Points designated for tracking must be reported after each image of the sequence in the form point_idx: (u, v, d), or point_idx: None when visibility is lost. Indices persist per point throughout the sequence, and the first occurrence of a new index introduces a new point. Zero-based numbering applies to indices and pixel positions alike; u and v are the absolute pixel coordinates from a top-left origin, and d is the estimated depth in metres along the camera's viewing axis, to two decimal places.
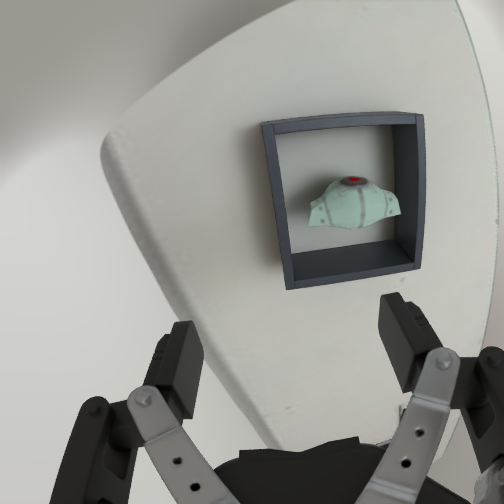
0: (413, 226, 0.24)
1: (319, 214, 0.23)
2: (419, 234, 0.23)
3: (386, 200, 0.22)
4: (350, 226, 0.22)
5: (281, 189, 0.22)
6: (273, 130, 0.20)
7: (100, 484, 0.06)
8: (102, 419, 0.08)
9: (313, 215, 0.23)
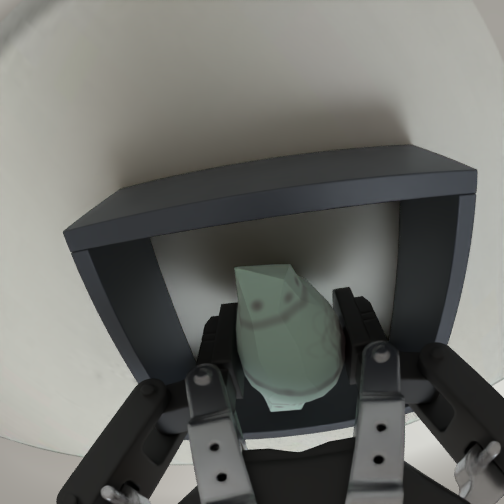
0: (245, 422, 0.14)
1: (273, 298, 0.09)
2: None
3: None
4: (251, 363, 0.10)
5: (340, 205, 0.08)
6: (466, 193, 0.08)
7: (132, 467, 0.07)
8: (160, 401, 0.08)
9: (268, 284, 0.09)
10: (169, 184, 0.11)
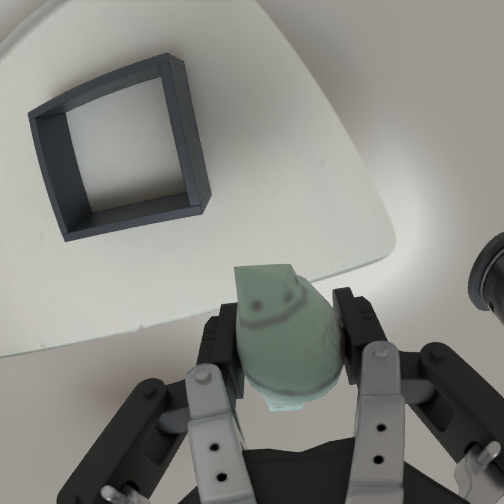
0: (98, 223, 0.24)
1: (273, 298, 0.09)
2: (91, 231, 0.24)
3: None
4: (250, 363, 0.10)
5: (109, 81, 0.18)
6: (163, 63, 0.18)
7: (132, 467, 0.07)
8: (160, 401, 0.08)
9: (268, 284, 0.09)
10: None
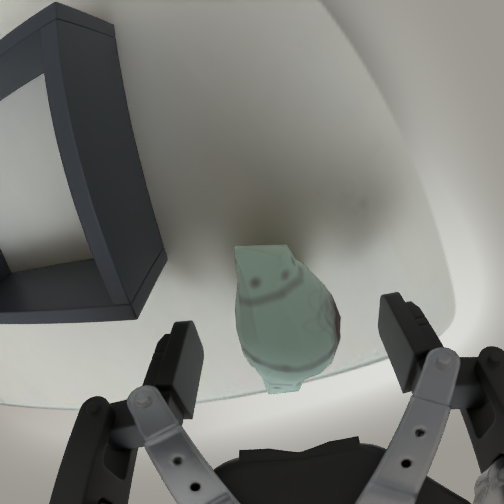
0: (0, 305, 0.12)
1: (270, 275, 0.10)
2: None
3: (298, 380, 0.12)
4: (249, 340, 0.11)
5: None
6: (45, 24, 0.06)
7: (100, 484, 0.06)
8: (102, 419, 0.08)
9: (266, 261, 0.10)
10: None
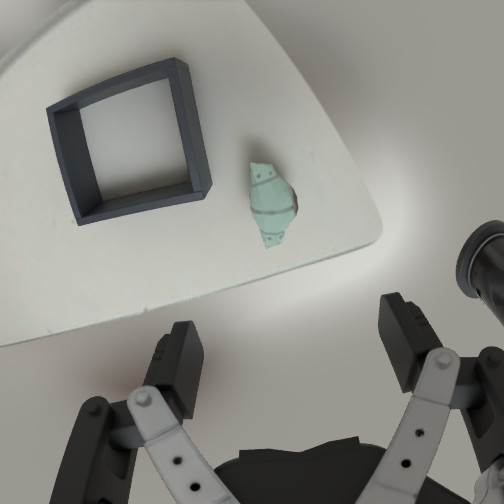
0: (109, 208, 0.27)
1: (264, 172, 0.24)
2: (103, 215, 0.27)
3: (280, 233, 0.27)
4: (256, 202, 0.25)
5: (122, 81, 0.21)
6: (170, 66, 0.21)
7: (100, 484, 0.06)
8: (102, 419, 0.08)
9: (263, 167, 0.24)
10: None
